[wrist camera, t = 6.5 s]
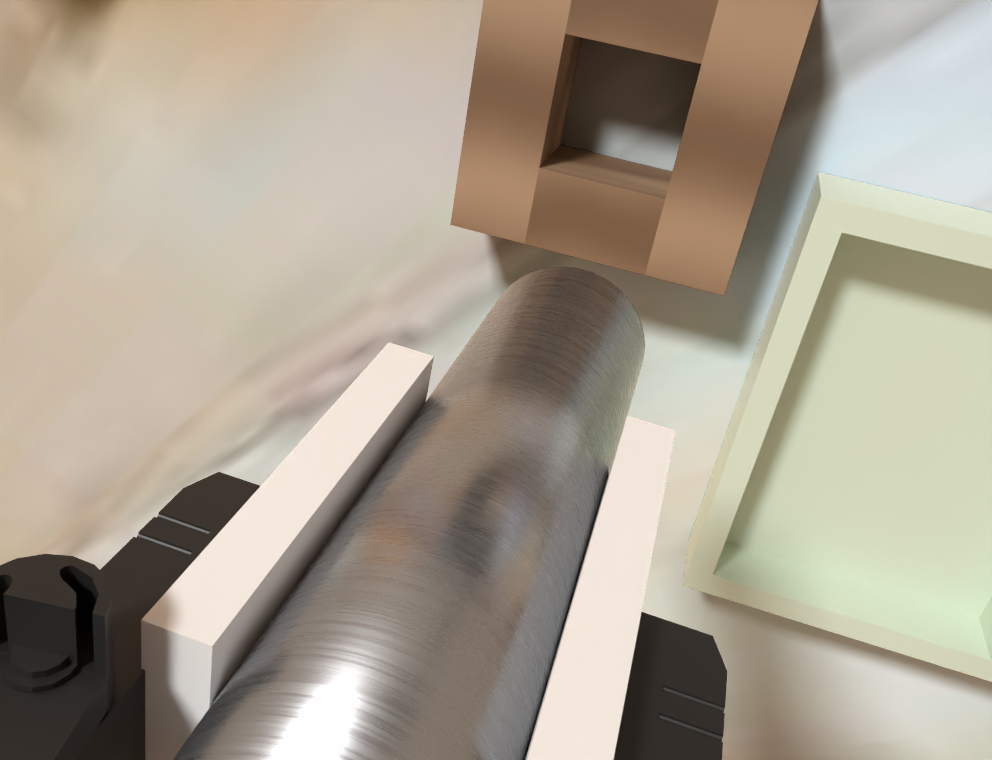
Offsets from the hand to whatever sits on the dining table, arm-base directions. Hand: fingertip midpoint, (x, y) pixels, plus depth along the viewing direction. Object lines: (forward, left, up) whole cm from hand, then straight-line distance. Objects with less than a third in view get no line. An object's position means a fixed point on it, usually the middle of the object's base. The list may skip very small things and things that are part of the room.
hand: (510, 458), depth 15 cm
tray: (+8, +12, -22) cm, 26 cm away
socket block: (-1, -1, -22) cm, 22 cm away
